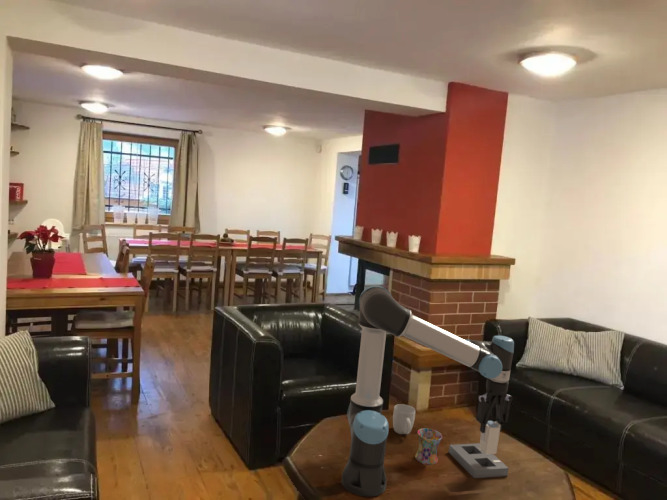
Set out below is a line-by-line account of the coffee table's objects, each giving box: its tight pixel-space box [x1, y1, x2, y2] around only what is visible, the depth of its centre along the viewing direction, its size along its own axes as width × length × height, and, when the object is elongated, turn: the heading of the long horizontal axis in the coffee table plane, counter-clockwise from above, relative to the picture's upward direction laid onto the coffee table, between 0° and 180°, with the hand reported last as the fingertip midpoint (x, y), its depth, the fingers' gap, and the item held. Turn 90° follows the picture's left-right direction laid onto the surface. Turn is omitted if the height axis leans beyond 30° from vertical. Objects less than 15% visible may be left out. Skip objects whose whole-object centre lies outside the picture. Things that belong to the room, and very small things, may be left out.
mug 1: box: [392, 403, 416, 435], centre depth 214 cm, size 13×9×10 cm
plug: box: [479, 420, 501, 455], centre depth 188 cm, size 4×4×11 cm
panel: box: [448, 442, 510, 479], centre depth 194 cm, size 14×18×4 cm
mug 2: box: [414, 427, 443, 466], centre depth 195 cm, size 12×9×11 cm
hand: (489, 440), depth 189 cm, fingers closed on plug, 4 cm apart
